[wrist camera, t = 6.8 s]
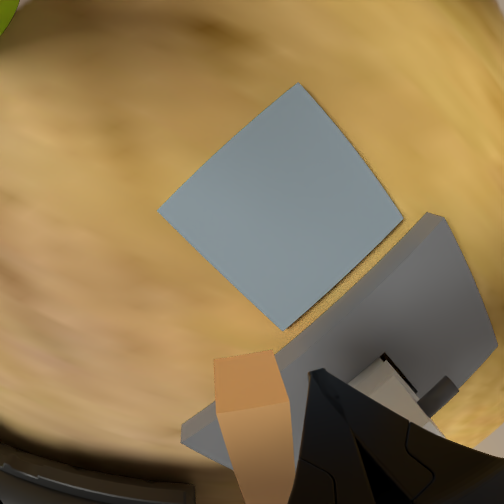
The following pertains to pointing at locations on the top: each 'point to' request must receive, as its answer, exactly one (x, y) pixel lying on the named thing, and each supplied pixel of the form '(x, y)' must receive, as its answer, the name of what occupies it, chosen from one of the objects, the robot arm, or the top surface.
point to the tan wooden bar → (256, 425)
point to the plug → (404, 394)
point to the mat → (284, 208)
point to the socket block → (383, 330)
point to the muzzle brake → (78, 484)
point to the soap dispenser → (7, 12)
